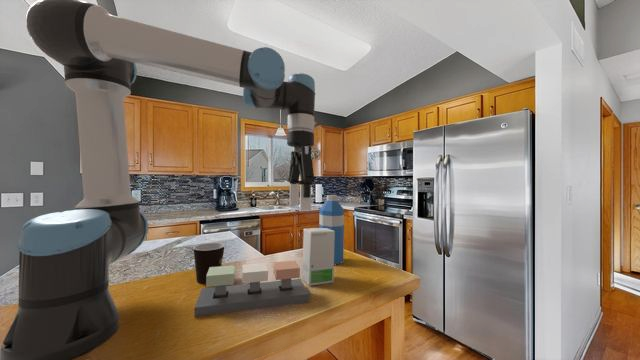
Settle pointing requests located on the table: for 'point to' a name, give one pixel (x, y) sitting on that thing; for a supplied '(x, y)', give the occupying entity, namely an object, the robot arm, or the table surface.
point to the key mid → (255, 275)
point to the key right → (286, 272)
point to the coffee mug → (207, 259)
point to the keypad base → (250, 297)
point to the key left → (220, 278)
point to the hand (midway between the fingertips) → (299, 207)
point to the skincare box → (318, 256)
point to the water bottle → (334, 224)
